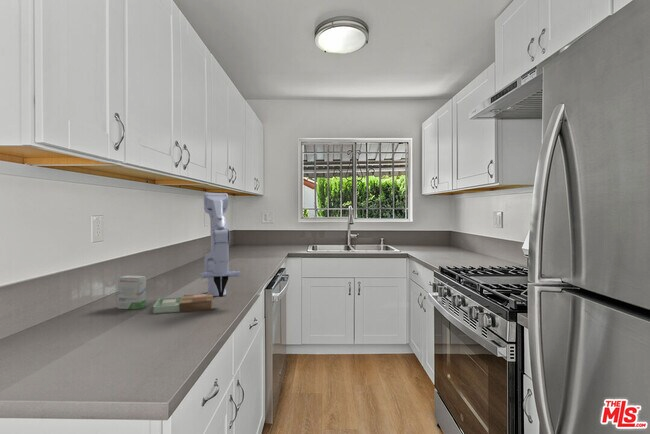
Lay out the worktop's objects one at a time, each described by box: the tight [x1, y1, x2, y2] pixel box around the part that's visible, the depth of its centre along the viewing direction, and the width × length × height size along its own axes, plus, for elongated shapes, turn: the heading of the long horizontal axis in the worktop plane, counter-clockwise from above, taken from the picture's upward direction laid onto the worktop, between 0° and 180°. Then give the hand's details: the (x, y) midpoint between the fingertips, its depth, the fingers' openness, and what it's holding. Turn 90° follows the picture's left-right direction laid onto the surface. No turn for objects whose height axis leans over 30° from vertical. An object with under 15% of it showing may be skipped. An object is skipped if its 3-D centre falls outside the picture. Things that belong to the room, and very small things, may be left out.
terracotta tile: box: [193, 293, 207, 302], centre depth 138 cm, size 4×4×2 cm
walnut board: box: [179, 293, 214, 313], centre depth 140 cm, size 13×11×3 cm
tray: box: [152, 296, 183, 314], centre depth 138 cm, size 13×9×2 cm
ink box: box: [117, 275, 147, 310], centre depth 138 cm, size 9×5×12 cm, turn 84°
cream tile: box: [162, 299, 176, 306], centre depth 140 cm, size 4×4×2 cm
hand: (221, 296), depth 140 cm, fingers closed
